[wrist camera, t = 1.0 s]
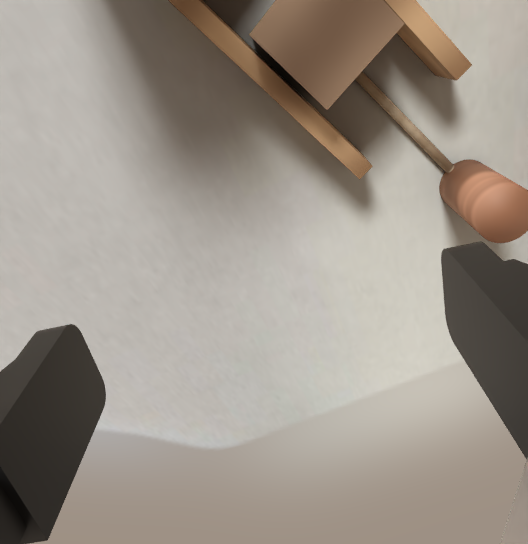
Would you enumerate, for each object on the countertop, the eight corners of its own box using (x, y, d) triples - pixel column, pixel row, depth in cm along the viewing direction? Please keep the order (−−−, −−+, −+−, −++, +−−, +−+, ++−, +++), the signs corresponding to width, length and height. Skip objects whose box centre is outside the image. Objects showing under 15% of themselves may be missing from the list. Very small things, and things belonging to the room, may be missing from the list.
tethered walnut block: (251, 34, 28) (248, 34, 22) (312, -44, 26) (325, -64, 21) (450, 227, 33) (487, 264, 27) (511, 171, 31) (563, 200, 26)
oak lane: (171, -3, 27) (159, -8, 24) (268, -142, 24) (269, -168, 21) (349, 164, 31) (359, 179, 28) (448, 61, 28) (472, 64, 25)
